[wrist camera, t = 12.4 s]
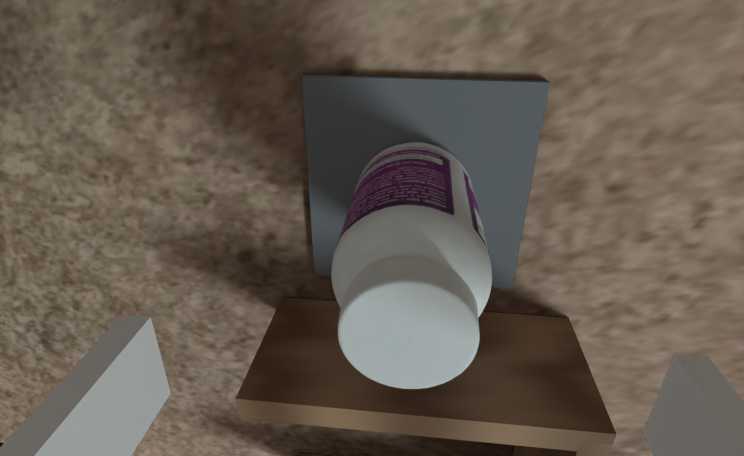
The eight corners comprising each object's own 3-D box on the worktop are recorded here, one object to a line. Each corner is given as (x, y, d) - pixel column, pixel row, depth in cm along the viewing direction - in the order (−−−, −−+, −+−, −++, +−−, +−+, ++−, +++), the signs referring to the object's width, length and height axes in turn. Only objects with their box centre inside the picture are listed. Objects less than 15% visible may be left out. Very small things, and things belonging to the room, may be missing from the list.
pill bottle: (335, 208, 22) (277, 352, 14) (397, 115, 20) (374, 220, 11) (429, 264, 23) (429, 432, 14) (499, 183, 20) (548, 326, 12)
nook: (568, 317, 24) (616, 434, 18) (523, 487, 31) (546, 613, 25) (282, 297, 25) (235, 398, 19) (300, 463, 32) (270, 577, 26)
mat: (547, 80, 19) (549, 82, 18) (510, 284, 23) (511, 289, 23) (303, 74, 20) (301, 76, 19) (316, 271, 24) (314, 275, 24)
